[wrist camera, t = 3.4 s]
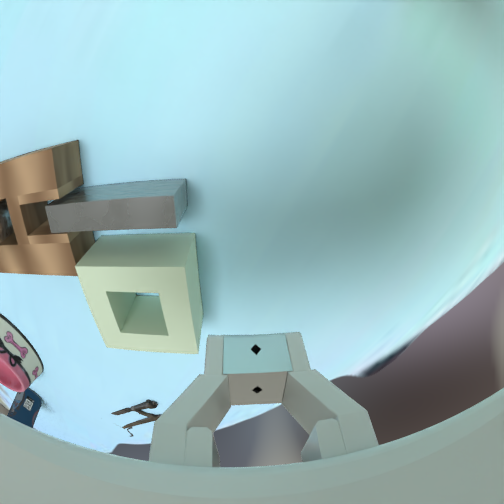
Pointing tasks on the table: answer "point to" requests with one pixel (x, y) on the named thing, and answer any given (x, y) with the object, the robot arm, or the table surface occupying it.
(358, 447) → the robot arm
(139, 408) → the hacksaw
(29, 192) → the socket block
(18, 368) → the dog bowl
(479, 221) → the table surface
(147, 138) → the table surface
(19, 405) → the soda can
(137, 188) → the block
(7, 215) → the peg
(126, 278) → the square hole block
